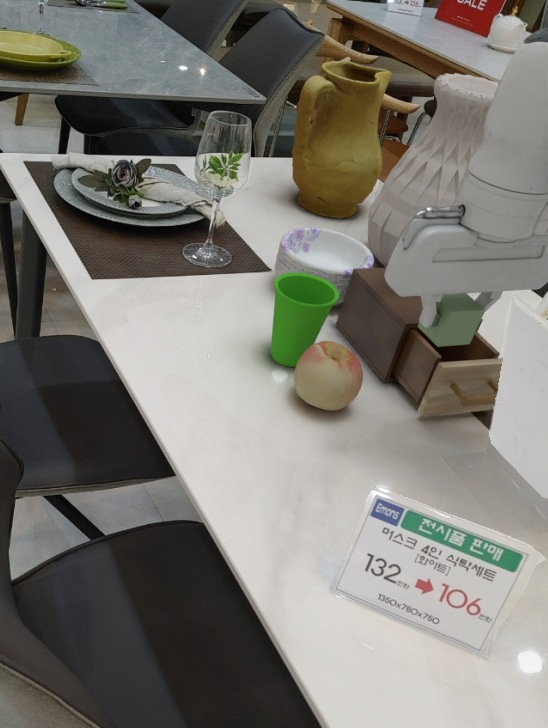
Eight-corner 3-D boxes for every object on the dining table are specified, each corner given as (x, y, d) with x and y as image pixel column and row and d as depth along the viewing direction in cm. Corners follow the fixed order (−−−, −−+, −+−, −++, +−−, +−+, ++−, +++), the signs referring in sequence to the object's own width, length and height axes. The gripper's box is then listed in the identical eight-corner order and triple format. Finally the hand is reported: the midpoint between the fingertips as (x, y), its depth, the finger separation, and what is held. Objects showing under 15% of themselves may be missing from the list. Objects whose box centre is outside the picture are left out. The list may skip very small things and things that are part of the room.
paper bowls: (356, 325, 121) (371, 279, 115) (262, 302, 122) (273, 255, 117) (364, 284, 132) (378, 239, 126) (278, 263, 133) (288, 218, 128)
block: (448, 324, 93) (463, 290, 89) (469, 344, 90) (485, 309, 86) (417, 326, 91) (430, 292, 88) (437, 347, 88) (452, 311, 85)
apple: (303, 376, 108) (318, 326, 103) (361, 401, 106) (379, 351, 100) (277, 403, 103) (291, 352, 97) (337, 430, 100) (356, 379, 94)
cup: (244, 351, 111) (260, 281, 103) (285, 334, 116) (303, 266, 108) (290, 382, 107) (310, 311, 99) (330, 363, 112) (352, 294, 104)
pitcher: (376, 227, 149) (413, 83, 132) (280, 217, 149) (306, 73, 132) (365, 196, 162) (397, 61, 145) (277, 187, 162) (300, 52, 145)
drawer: (509, 429, 104) (536, 380, 98) (438, 436, 100) (461, 387, 95) (436, 352, 116) (456, 306, 111) (371, 356, 113) (388, 309, 107)
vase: (404, 301, 129) (477, 109, 108) (333, 247, 141) (386, 65, 120) (487, 285, 137) (569, 104, 116) (413, 236, 149) (475, 64, 128)
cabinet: (456, 377, 113) (483, 319, 107) (382, 383, 110) (405, 323, 103) (404, 322, 124) (425, 266, 117) (335, 325, 120) (353, 268, 113)
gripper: (430, 220, 75) (385, 343, 84) (594, 216, 81) (535, 332, 90) (397, 193, 79) (358, 314, 88) (555, 192, 85) (503, 305, 94)
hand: (448, 323), depth 89 cm, fingers closed on block, 4 cm apart
